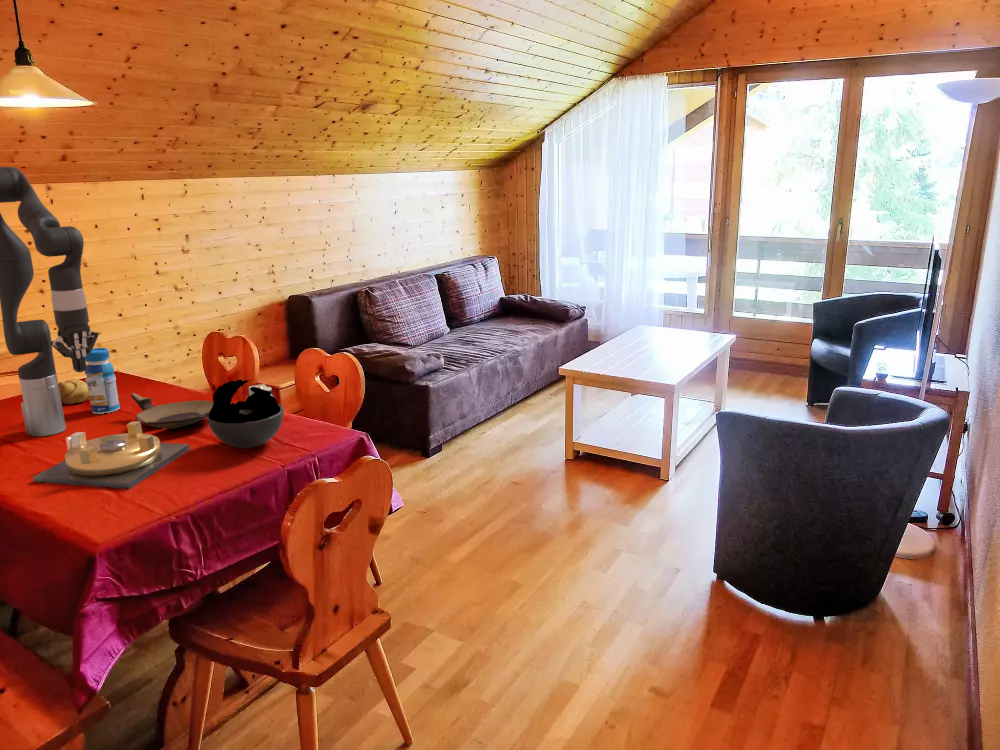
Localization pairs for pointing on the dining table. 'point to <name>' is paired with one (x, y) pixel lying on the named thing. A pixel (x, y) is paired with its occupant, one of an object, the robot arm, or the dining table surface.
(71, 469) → the round brass tray
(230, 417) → the bowl of black rocks
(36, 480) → the base plate
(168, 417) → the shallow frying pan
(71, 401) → the bread roll
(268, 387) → the pneumatic valve
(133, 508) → the dining table surface
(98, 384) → the beverage bottle
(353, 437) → the dining table surface
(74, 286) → the robot arm
